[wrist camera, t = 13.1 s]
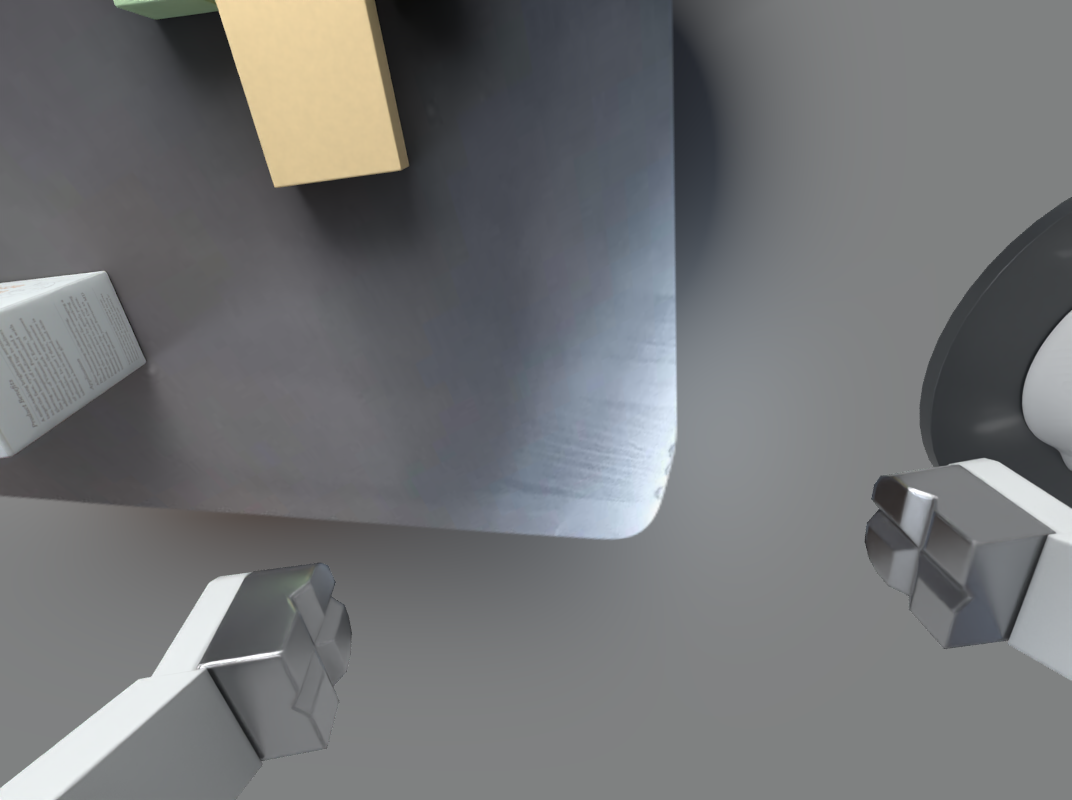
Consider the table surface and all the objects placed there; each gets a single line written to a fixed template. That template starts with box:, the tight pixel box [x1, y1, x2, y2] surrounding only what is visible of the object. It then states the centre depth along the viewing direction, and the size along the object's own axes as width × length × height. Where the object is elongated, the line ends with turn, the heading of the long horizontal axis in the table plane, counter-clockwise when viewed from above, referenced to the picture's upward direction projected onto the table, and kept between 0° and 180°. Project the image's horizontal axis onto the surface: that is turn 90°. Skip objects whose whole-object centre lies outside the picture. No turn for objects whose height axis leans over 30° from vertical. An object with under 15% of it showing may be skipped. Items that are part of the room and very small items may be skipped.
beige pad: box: [215, 0, 409, 188], centre depth 24 cm, size 6×12×3 cm, turn 7°
